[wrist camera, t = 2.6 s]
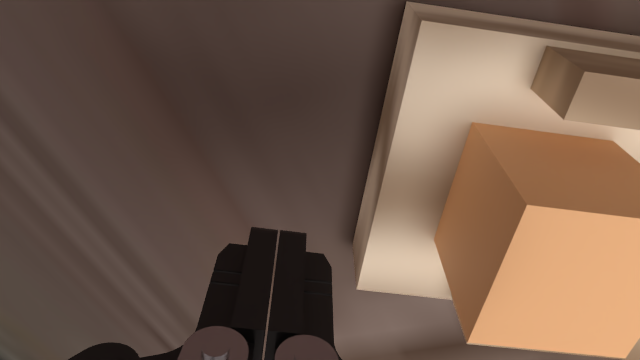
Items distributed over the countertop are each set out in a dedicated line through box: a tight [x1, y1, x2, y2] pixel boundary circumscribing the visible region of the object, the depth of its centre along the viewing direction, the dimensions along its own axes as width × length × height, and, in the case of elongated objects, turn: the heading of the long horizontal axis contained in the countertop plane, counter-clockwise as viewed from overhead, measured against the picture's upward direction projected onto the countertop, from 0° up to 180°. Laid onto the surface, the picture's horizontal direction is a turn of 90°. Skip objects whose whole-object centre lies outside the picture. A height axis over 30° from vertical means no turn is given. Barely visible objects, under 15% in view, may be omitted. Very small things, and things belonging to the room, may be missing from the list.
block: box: [434, 122, 640, 358], centre depth 15 cm, size 5×5×5 cm
